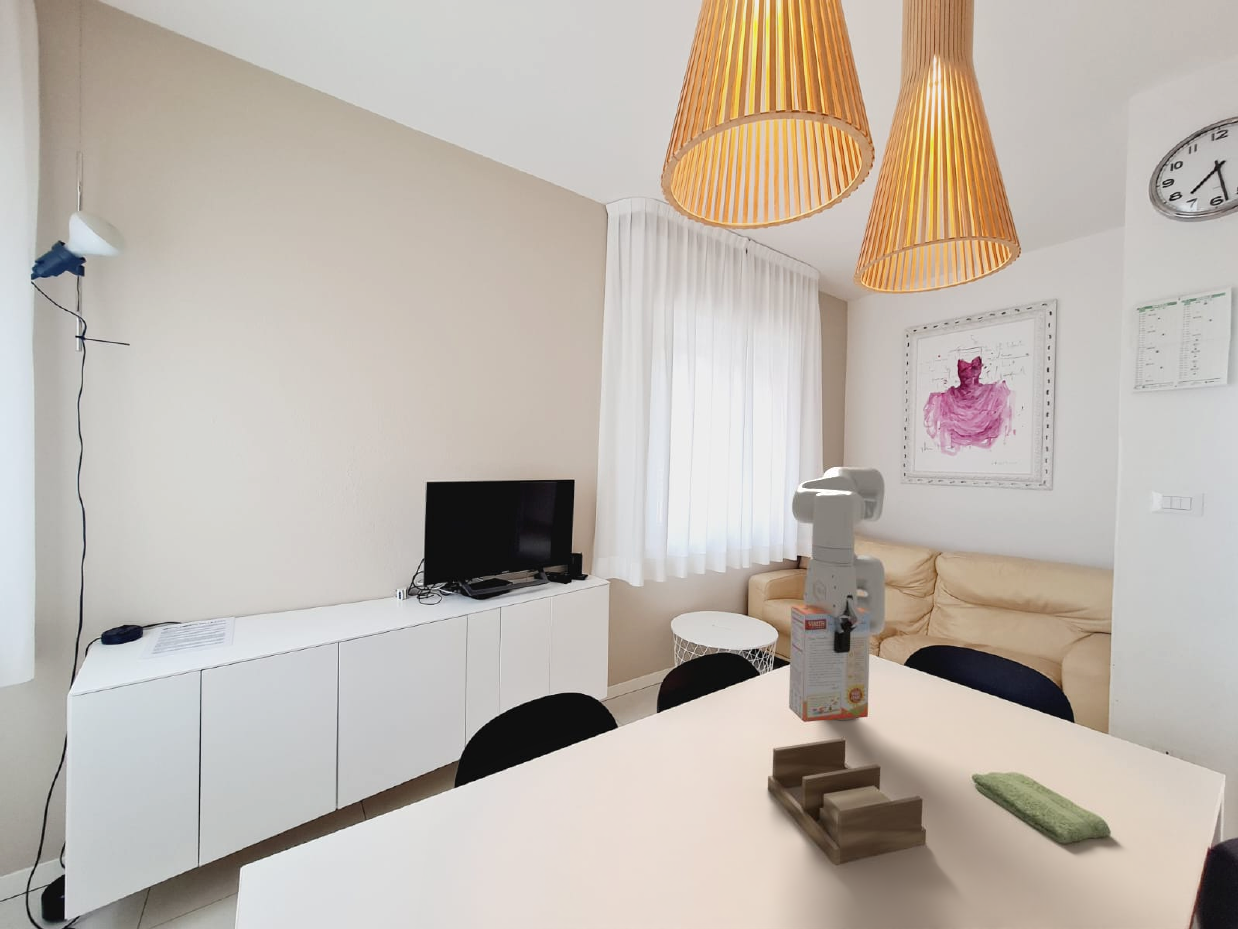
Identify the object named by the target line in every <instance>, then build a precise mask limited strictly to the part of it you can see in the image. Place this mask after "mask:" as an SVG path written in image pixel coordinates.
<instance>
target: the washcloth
mask: <svg viewBox="0 0 1238 929" xmlns="http://www.w3.org/2000/svg"><path fill="white" fill-rule="evenodd" d="M971 779H972V781H973V782H974V783H975V784H976V785H975V789H976V790H977V791H978V792H980V793H981V794H983V795H984V796H985V797H987V798H989V799H990V800H992V801H994V802H995V803H996V804H998V805H999V806H1001V807H1003V808H1004V809H1005V810H1008V811H1009V812H1010V813H1012V814H1014V816H1016V817H1018V818H1020V819H1021V820H1023V821H1024V822H1026V823H1027V824H1028V825H1030V826H1031V827H1033V828H1035V829H1037V830H1038V831H1039V832H1042V833H1043V835H1045V836H1047V837H1049V838H1051V839H1052V840H1053V841H1055V842H1057V843H1060V844H1063V845H1067V844H1071V843H1074V842H1082V840H1085V839H1089V838H1090V839H1097V838H1102V837H1104V838H1106V837H1107V836H1110V835H1111V832H1112V831H1111V828H1110V827H1109V825H1108V823H1107V822H1106V820H1105V819H1104V818H1102V817H1101V816H1099V815H1097V814H1096V813H1094V812H1093V811H1090V810H1088V809H1085V808H1083V807H1082V806H1080V805H1078V804H1076V803H1074V801H1071V799H1069V798H1067V797H1065V796H1063V795H1061V794H1059V793H1057V792H1055V791H1053V790H1051V789H1050V788H1048V787H1046V786H1044V785H1043V784H1041V783H1040V782H1038V781H1037V780H1035V779H1033V777H1032V778H1031V777H1030V776H1028V775H1026V774H1023V773H1019V772H1014V771H1009V772H998V771H991V772H990V771H989V773H986V774H980V773H979V774H978V773H973V774H972V775H971Z"/></svg>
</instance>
